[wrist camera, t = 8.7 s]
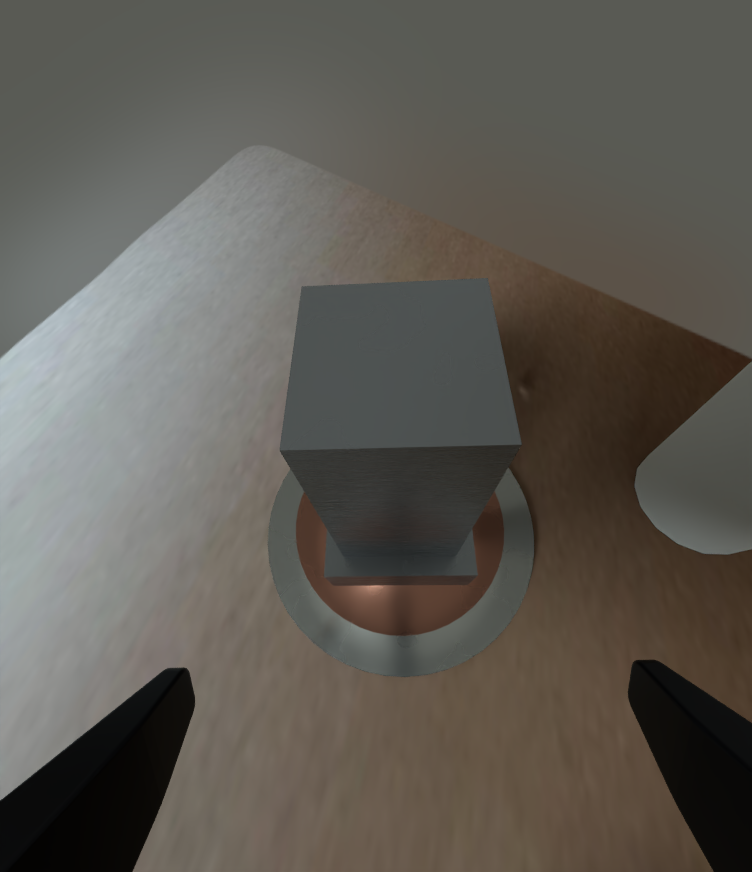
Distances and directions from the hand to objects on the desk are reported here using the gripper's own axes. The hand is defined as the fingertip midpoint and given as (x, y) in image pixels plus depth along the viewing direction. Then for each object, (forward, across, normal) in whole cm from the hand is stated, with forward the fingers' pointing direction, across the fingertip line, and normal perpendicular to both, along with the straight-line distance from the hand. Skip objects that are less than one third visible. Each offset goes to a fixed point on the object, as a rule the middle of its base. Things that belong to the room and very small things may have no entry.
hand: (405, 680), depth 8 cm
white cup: (+13, -15, +2) cm, 20 cm away
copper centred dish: (+12, 0, +3) cm, 12 cm away
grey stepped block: (+11, 0, +2) cm, 11 cm away
